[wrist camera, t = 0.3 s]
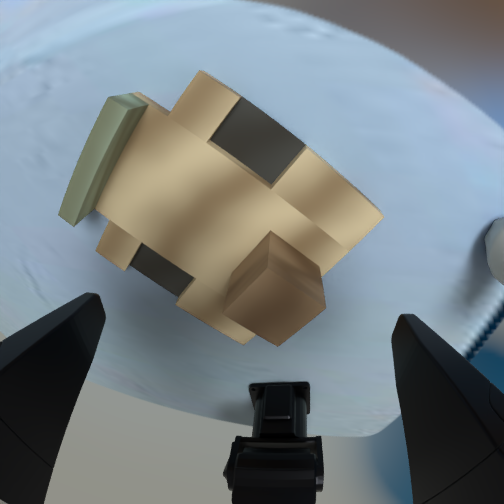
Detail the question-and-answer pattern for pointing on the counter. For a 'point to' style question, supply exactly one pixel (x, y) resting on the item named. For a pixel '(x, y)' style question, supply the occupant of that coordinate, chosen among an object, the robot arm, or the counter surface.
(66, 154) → the counter surface
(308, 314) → the walnut block
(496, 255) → the salt shaker
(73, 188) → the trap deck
